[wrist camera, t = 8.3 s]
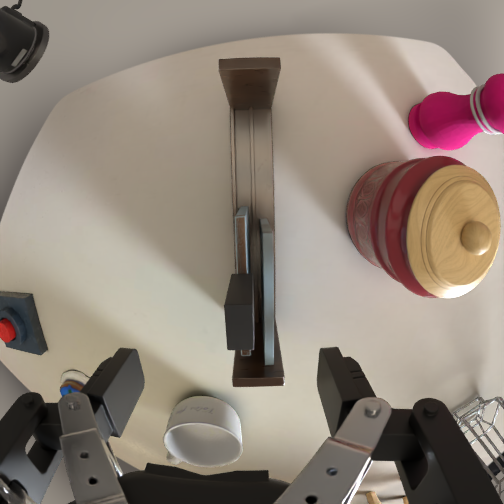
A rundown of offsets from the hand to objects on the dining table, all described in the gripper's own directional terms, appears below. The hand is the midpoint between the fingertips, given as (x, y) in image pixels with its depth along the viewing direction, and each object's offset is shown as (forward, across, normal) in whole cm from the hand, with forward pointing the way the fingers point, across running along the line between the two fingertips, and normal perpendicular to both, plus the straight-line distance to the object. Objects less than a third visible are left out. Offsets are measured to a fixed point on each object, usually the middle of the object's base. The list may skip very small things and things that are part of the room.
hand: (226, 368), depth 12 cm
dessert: (+23, +29, +23) cm, 44 cm away
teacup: (+23, +8, +26) cm, 36 cm away
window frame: (+23, -1, -4) cm, 24 cm away
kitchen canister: (+24, -18, -4) cm, 30 cm away
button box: (+23, +39, +11) cm, 46 cm away
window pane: (+22, 0, +1) cm, 22 cm away
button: (+20, +39, +11) cm, 45 cm away
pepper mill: (+24, -24, -16) cm, 38 cm away
